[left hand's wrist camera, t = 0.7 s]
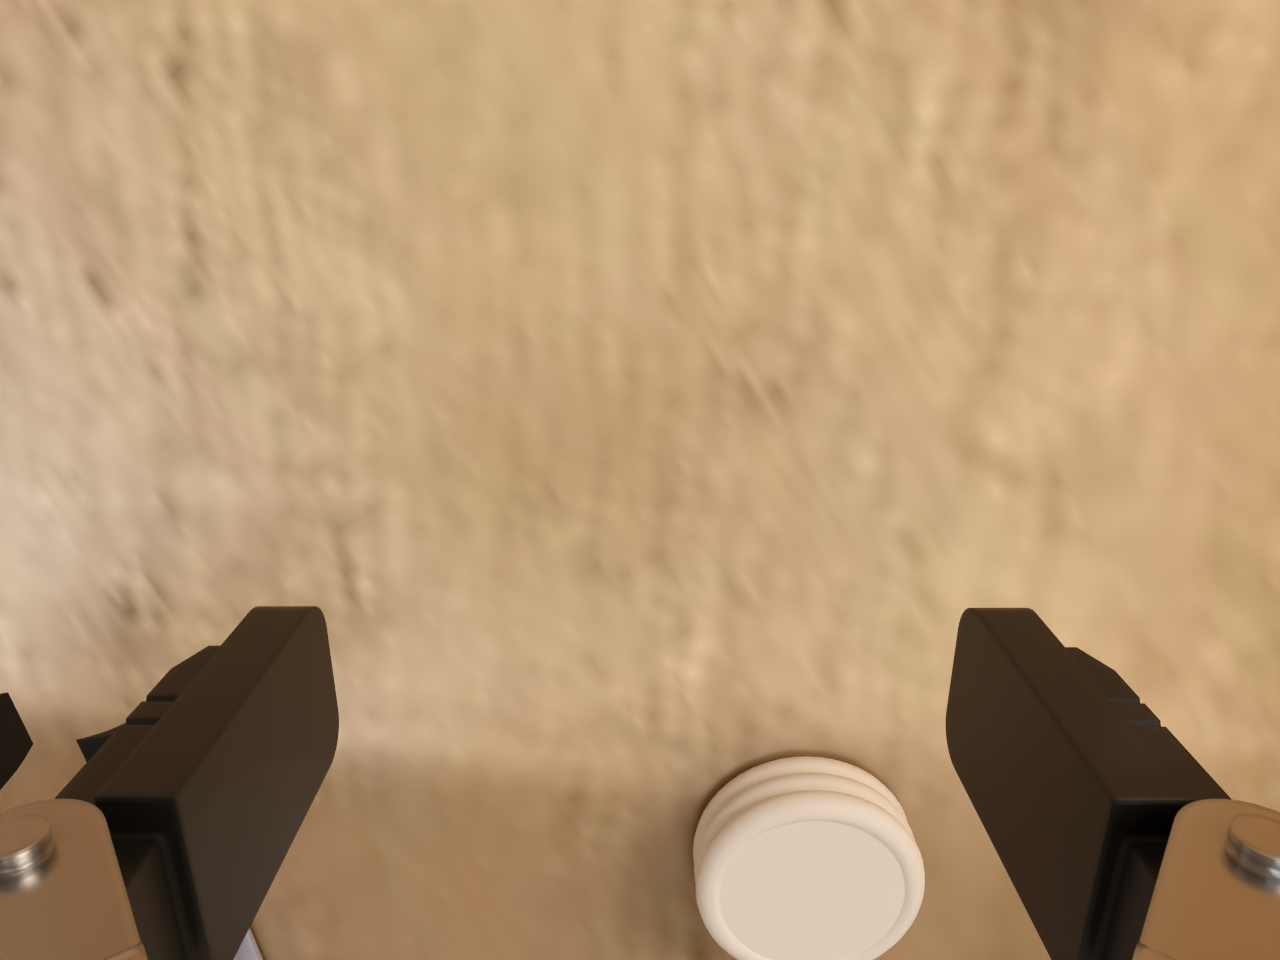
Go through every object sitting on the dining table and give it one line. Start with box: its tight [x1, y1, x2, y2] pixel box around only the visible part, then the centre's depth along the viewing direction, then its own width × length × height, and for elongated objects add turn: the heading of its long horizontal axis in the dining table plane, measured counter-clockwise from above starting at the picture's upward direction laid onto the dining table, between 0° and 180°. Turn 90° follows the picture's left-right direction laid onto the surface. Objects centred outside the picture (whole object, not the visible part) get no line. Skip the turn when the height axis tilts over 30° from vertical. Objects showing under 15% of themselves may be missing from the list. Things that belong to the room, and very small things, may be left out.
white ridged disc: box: [693, 756, 925, 960], centre depth 40 cm, size 10×10×4 cm
